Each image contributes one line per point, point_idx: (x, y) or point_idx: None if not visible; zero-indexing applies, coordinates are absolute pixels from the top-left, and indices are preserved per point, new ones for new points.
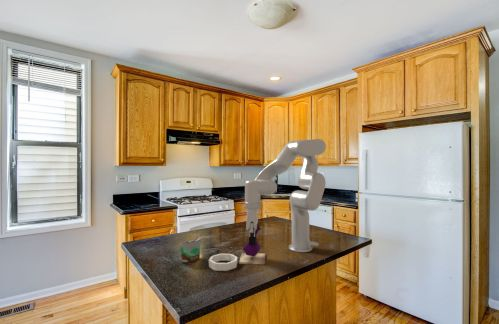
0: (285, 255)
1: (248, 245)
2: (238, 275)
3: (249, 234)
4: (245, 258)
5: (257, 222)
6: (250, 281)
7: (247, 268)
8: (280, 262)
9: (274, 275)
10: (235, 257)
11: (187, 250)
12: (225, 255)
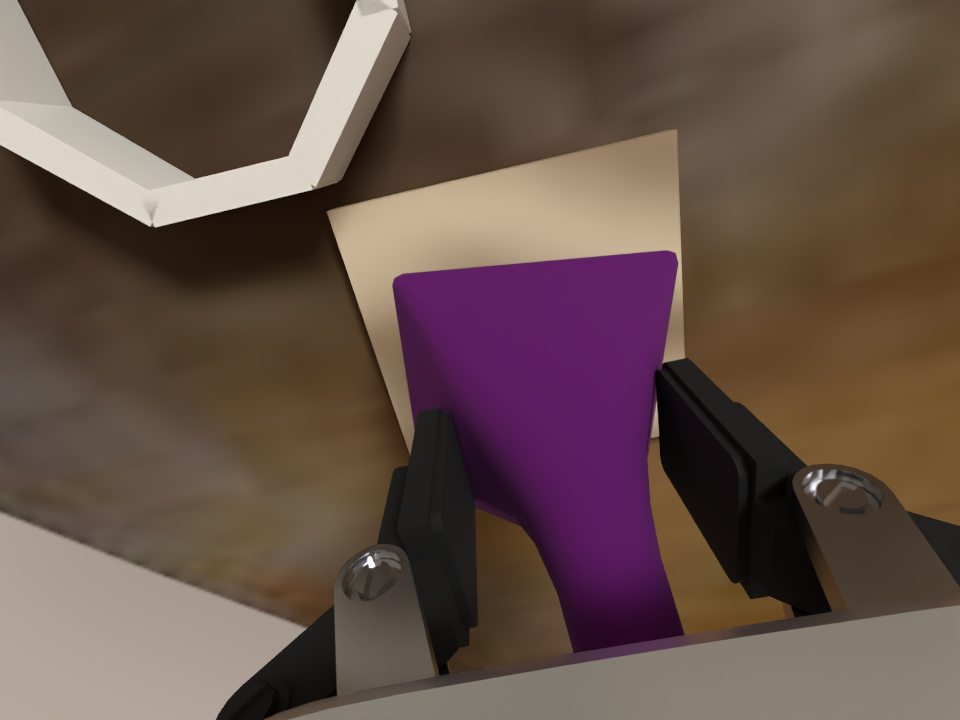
0: (690, 576)
1: (436, 388)
2: (42, 310)
3: (335, 625)
4: (472, 255)
5: None
6: (10, 445)
7: (252, 344)
8: (510, 567)
9: (231, 572)
10: (271, 168)
11: None
12: None
